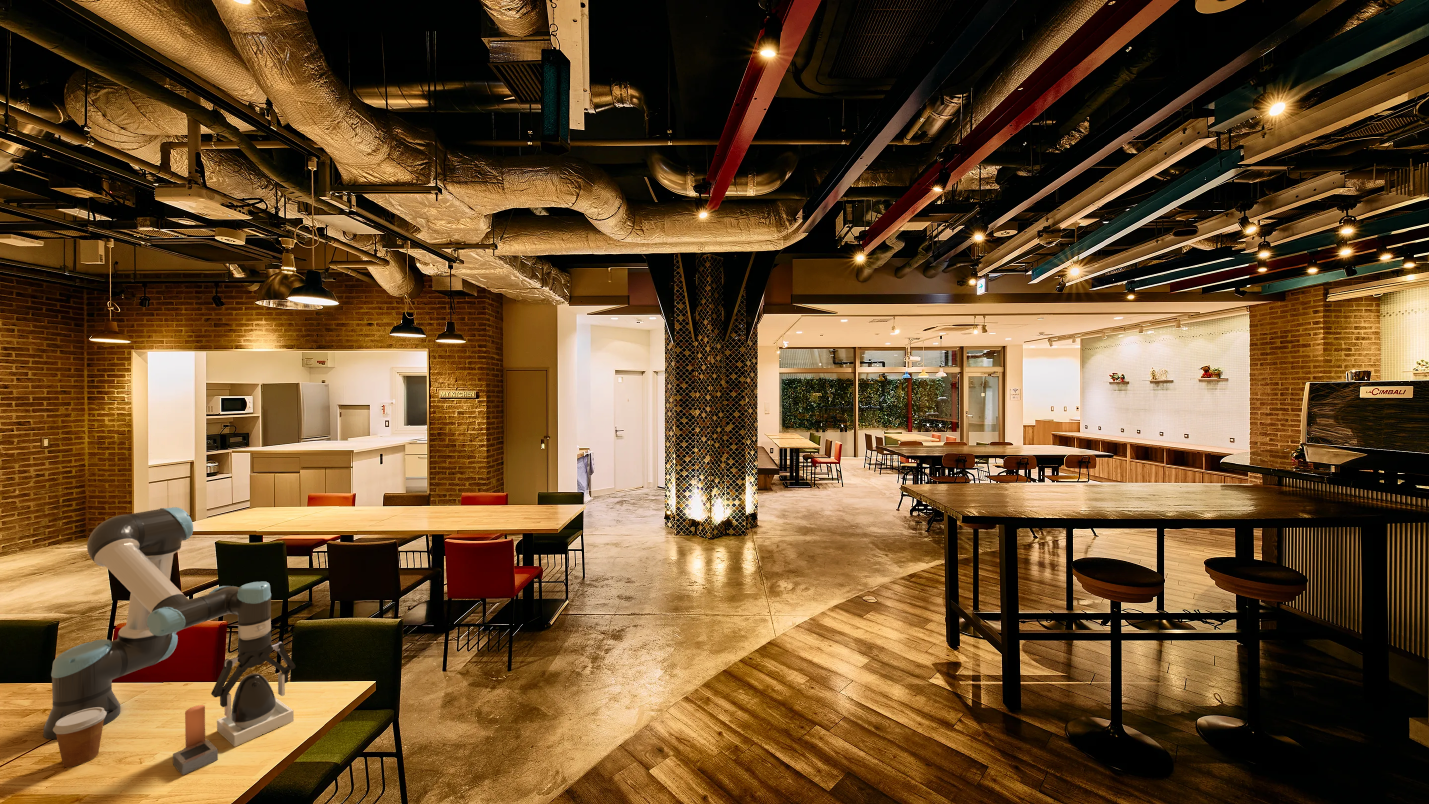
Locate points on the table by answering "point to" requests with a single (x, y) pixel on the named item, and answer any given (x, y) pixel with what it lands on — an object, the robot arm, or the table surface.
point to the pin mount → (195, 757)
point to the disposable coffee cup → (80, 735)
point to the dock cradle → (242, 735)
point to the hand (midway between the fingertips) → (255, 704)
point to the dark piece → (252, 701)
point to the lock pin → (195, 725)
